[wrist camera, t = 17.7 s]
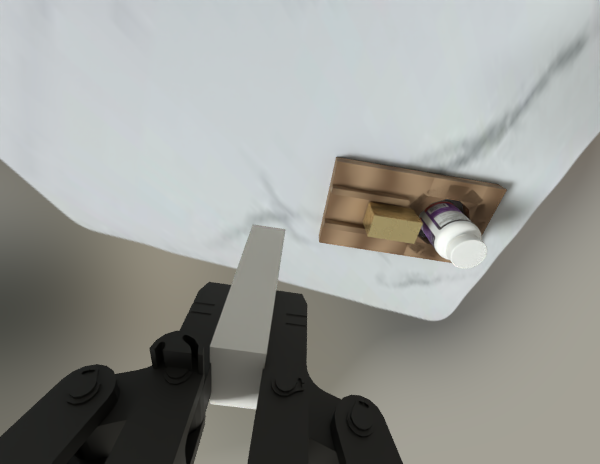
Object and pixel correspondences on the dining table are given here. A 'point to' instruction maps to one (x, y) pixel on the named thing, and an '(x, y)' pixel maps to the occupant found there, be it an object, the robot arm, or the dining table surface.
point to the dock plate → (397, 203)
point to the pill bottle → (453, 234)
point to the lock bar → (391, 223)
